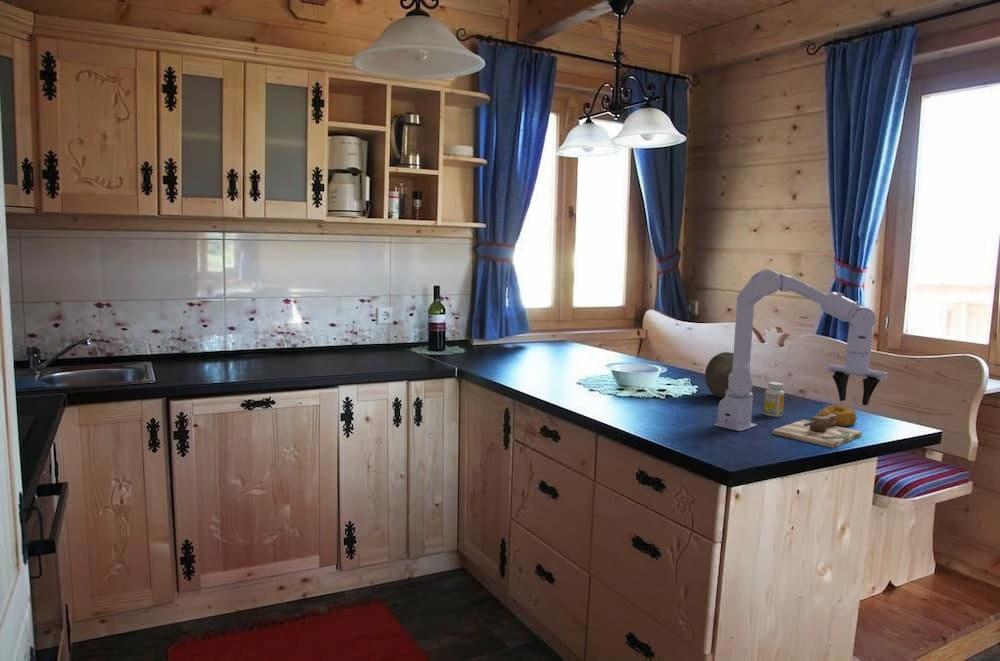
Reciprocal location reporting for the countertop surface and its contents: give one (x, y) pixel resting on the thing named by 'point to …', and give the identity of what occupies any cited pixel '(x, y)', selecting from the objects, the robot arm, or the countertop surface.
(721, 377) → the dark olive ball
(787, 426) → the board
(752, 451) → the countertop surface
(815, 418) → the brown elongated piece
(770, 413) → the supplement bottle
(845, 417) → the bagel
